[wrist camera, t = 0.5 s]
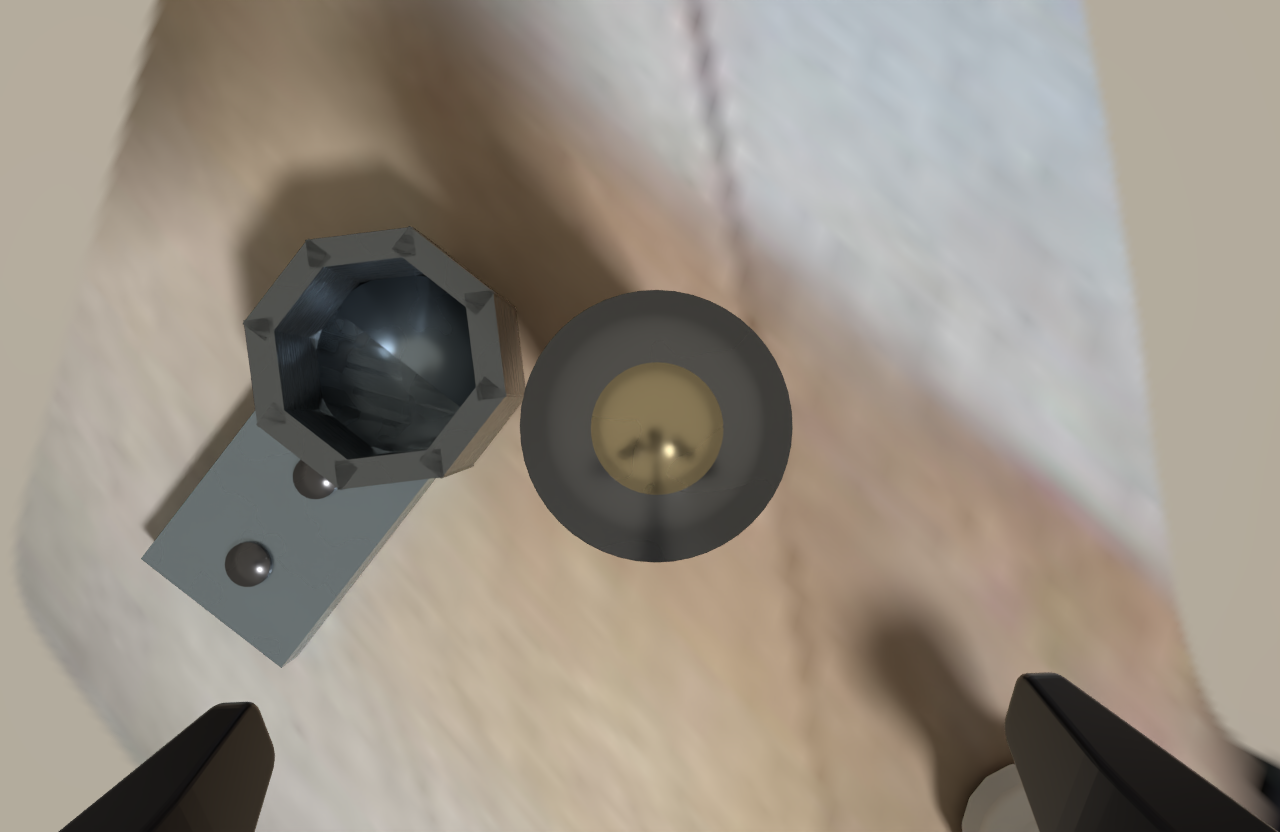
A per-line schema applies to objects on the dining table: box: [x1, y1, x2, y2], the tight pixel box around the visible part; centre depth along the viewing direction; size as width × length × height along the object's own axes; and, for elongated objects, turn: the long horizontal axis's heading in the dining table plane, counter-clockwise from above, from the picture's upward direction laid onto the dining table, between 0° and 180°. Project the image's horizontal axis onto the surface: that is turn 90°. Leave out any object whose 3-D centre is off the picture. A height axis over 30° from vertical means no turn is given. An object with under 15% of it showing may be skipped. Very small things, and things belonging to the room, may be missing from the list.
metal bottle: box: [520, 290, 792, 562], centre depth 17 cm, size 4×4×14 cm
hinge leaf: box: [141, 226, 525, 668], centre depth 22 cm, size 14×7×4 cm, turn 142°
